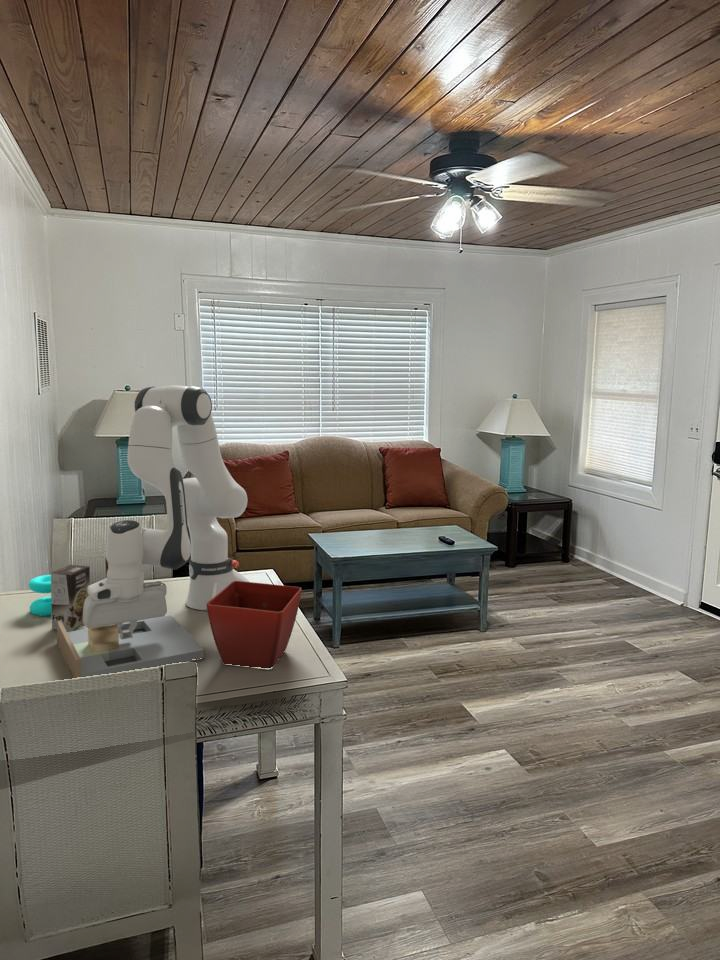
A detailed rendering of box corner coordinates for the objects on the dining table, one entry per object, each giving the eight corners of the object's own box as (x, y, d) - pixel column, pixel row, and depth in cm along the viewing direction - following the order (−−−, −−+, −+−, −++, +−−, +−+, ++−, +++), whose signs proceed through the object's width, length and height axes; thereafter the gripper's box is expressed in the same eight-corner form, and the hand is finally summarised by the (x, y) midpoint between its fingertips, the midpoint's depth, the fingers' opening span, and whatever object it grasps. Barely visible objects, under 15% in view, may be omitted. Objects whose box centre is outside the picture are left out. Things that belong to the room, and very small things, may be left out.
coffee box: (72, 631, 181) (70, 574, 178) (51, 629, 182) (49, 572, 180) (91, 620, 190) (90, 565, 187) (71, 617, 191) (70, 563, 188)
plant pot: (280, 679, 158) (281, 611, 155) (204, 670, 161) (204, 603, 159) (301, 647, 177) (302, 586, 174) (232, 640, 180) (233, 580, 177)
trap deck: (171, 623, 190) (171, 603, 189) (204, 659, 167) (204, 636, 166) (57, 642, 173) (56, 620, 172) (76, 685, 151) (76, 660, 150)
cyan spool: (73, 577, 195) (42, 586, 187) (74, 610, 197) (43, 619, 189) (52, 571, 201) (21, 579, 192) (53, 603, 202) (22, 612, 194)
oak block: (113, 639, 171) (112, 621, 170) (118, 648, 166) (118, 629, 165) (88, 644, 167) (87, 625, 167) (93, 652, 162) (93, 633, 162)
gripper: (162, 576, 175) (163, 626, 177) (80, 587, 164) (81, 640, 166) (170, 583, 170) (170, 634, 172) (85, 595, 159) (86, 649, 161)
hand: (126, 637), depth 169 cm, fingers closed
